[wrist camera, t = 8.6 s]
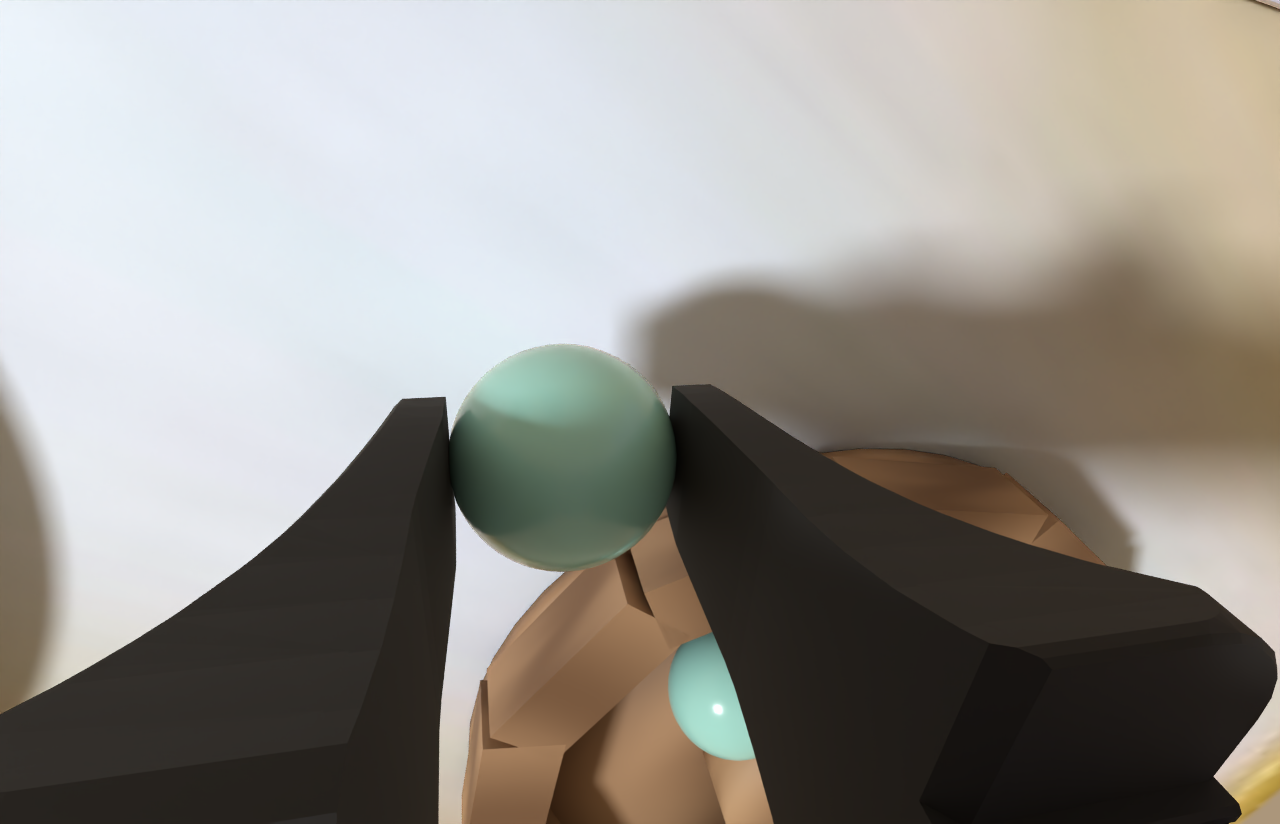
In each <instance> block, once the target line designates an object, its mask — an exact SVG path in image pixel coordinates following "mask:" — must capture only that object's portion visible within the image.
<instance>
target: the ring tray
mask: <svg viewBox="0 0 1280 824" xmlns="http://www.w3.org/2000/svg"><path fill="white" fill-rule="evenodd" d="M820 454H822V455H824V456H826V457H827V458H829V459H831V460H833V461H834V462H836V463H838V464H840V465H842V466H843V467H845V468H847V469H849V470H850V471H852V472H854V473H856V474H858V475H860V476H862V477H864V478H866V479H868V480H869V481H871V482H873V483H875V484H877V485H880V486H882V487H884V488H886V489H888V490H890V491H892V492H895V493H897V494H899V495H901V496H903V497H905V498H908V499H910V500H912V501H914V502H916V503H918V504H921V505H923V506H926V507H928V508H930V509H933V510H935V511H938V512H940V513H943V514H945V515H948V516H950V517H953V518H956V519H958V520H961V521H964V522H966V523H969V524H972V525H974V526H977V527H980V528H982V529H985V530H988V531H991V532H993V533H996V534H999V535H1002V536H1005V537H1008V538H1012V539H1015V540H1018V541H1021V542H1024V543H1027V544H1030V545H1033V546H1037V547H1040V548H1044V549H1047V550H1050V551H1054V552H1057V553H1061V554H1064V555H1068V556H1071V557H1074V558H1078V559H1081V560H1085V561H1089V562H1093V563H1096V564H1101V565H1105V564H1104V563H1103V562H1102V561H1101V560H1100V559H1099V558H1098V557H1097V556H1096V555H1095V554H1094V553H1093V552H1092V551H1091V550H1090V549H1089V548H1088V547H1087V546H1086V545H1085V544H1084V543H1083V542H1082V541H1081V540H1080V539H1079V538H1078V537H1077V536H1076V535H1075V534H1074V533H1073V532H1072V531H1071V530H1070V529H1069V528H1068V527H1067V526H1066V525H1065V524H1064V523H1063V522H1062V521H1061V520H1060V519H1058V518H1057V517H1056V516H1055V515H1054V514H1053V513H1052V512H1051V511H1049V510H1048V509H1047V508H1046V507H1045V506H1044V505H1043V504H1041V503H1040V502H1039V501H1038V500H1037V499H1036V498H1035V497H1034V496H1032V495H1031V494H1030V493H1029V492H1028V491H1027V490H1026V489H1025V488H1023V487H1022V486H1021V485H1020V484H1019V483H1018V482H1017V481H1015V480H1014V479H1013V478H1012V477H1011V476H1010V475H1009V474H1008V473H1005V474H1004V475H1003V474H1002V473H1001V472H999V471H998V470H997V469H996V468H991V467H981V466H978V465H975V464H972V463H969V462H965V461H962V460H959V459H956V458H952V457H949V456H946V455H940V454H933V453H926V452H919V451H913V450H906V449H854V450H845V451H836V452H827V453H820ZM1105 566H1106V565H1105ZM711 632H712V630H711V628H710V625H709V623H708V621H707V618H706V616H705V614H704V611H703V609H702V606H701V604H700V602H699V599H698V597H697V595H696V592H695V590H694V588H693V585H692V583H691V580H690V578H689V576H688V573H687V571H686V568H685V566H684V563H683V561H682V559H681V556H680V554H679V551H678V549H677V546H676V543H675V540H674V536H673V532H672V529H671V525H670V521H669V517H668V513H667V509H666V506H665V508H664V510H663V512H662V514H661V516H660V517H659V519H658V520H657V521H656V523H655V524H654V526H653V527H652V528H651V530H650V531H649V532H648V533H647V534H646V535H645V536H644V538H643V539H642V540H640V541H639V542H638V543H637V544H636V545H635V546H633V547H632V548H631V549H629V550H628V551H626V552H625V553H623V554H622V555H620V556H618V557H617V558H615V559H613V560H611V561H609V562H607V563H604V564H602V565H599V566H596V567H593V568H588V569H584V570H578V571H568V572H564V573H563V574H562V575H561V576H560V577H559V578H558V579H557V580H556V581H555V582H553V583H552V584H551V585H550V586H549V587H548V588H547V589H546V590H545V591H544V592H543V593H542V594H541V595H540V596H539V597H538V599H537V600H536V601H535V602H534V603H533V604H532V606H531V607H530V608H529V609H528V610H527V611H526V612H525V614H524V615H523V616H522V617H521V618H520V619H519V621H518V622H517V623H516V624H515V625H514V627H513V629H512V630H511V632H510V633H509V635H508V636H507V638H506V639H505V641H504V642H503V644H502V645H501V647H500V648H499V650H498V652H497V653H496V655H495V656H494V658H493V660H492V662H491V664H490V666H489V667H488V668H487V673H486V675H485V677H484V680H480V686H479V691H478V694H477V698H476V702H475V706H474V710H473V714H472V717H471V721H470V735H469V754H468V760H467V767H466V773H465V779H464V785H463V791H462V824H774V823H773V819H772V815H771V812H770V808H769V805H768V801H767V797H766V794H765V790H764V787H763V783H762V780H761V776H760V772H759V769H758V765H757V762H756V758H755V759H751V760H744V761H733V760H726V759H721V758H718V757H715V756H713V755H711V754H708V753H707V752H705V751H703V750H702V749H700V748H699V747H697V746H696V745H695V744H694V743H693V742H692V741H691V740H690V739H689V738H688V737H687V736H686V735H685V734H684V732H683V731H682V729H681V728H680V726H679V725H678V723H677V721H676V719H675V717H674V715H673V712H672V709H671V705H670V702H669V694H668V676H669V671H670V666H671V663H672V660H673V658H674V655H675V653H676V651H677V649H678V648H679V646H680V645H681V644H684V643H686V642H689V641H691V640H694V639H696V638H699V637H701V636H704V635H706V634H709V633H711Z"/></svg>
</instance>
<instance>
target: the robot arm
mask: <svg viewBox="0 0 1280 824" xmlns="http://www.w3.org/2000/svg"><path fill="white" fill-rule="evenodd" d="M1256 1H1259V2H1262V3H1265V4H1267V5H1270V6H1273V7H1276V8H1279V9H1280V0H1256ZM669 418H670V420H671V423H672V427H673V431H674V435H675V443H676V453H677V461H676V473H675V479H674V483H673V488H672V491H671V493H670V496H669V499H668V501H667V504H666V509H667V513H668V517H669V521H670V525H671V529H672V532H673V536H674V540H675V543H676V546H677V549H678V551H679V554H680V556H681V559H682V561H683V563H684V566H685V568H686V571H687V573H688V576H689V578H690V580H691V583H692V585H693V588H694V590H695V592H696V595H697V597H698V599H699V602H700V604H701V606H702V609H703V611H704V614H705V616H706V618H707V621H708V623H709V625H710V628H711V630H712V632H713V635H714V637H715V639H716V642H717V644H718V647H719V649H720V651H721V654H722V656H723V658H724V661H725V663H726V666H727V669H728V672H729V674H730V677H731V680H732V682H733V685H734V688H735V691H736V694H737V698H738V701H739V704H740V708H741V711H742V714H743V717H744V721H745V724H746V727H747V731H748V734H749V737H750V741H751V744H752V747H753V751H754V754H755V758H756V762H757V765H758V769H759V772H760V776H761V780H762V783H763V787H764V790H765V794H766V797H767V801H768V805H769V808H770V812H771V815H772V819H773V823H774V824H1229V823H1231V822H1235V821H1236V820H1237V819H1238V818H1239V817H1240V816H1241V814H1242V813H1241V809H1240V806H1239V803H1238V802H1237V801H1236V800H1235V799H1234V798H1233V797H1232V796H1231V795H1230V794H1229V793H1228V792H1227V791H1226V790H1225V788H1224V787H1223V786H1222V785H1221V784H1220V783H1219V782H1218V781H1217V780H1216V779H1215V778H1214V777H1213V776H1214V775H1215V774H1216V772H1217V771H1218V770H1219V769H1220V767H1221V766H1222V765H1223V763H1224V762H1225V761H1226V760H1227V758H1228V757H1229V756H1230V754H1231V753H1232V752H1233V751H1234V749H1235V748H1236V747H1237V745H1238V744H1239V743H1240V742H1241V740H1242V739H1243V738H1244V737H1245V735H1246V734H1247V733H1248V731H1249V730H1250V729H1251V728H1252V726H1253V725H1254V724H1255V722H1256V721H1257V720H1258V718H1259V717H1260V715H1261V714H1262V712H1263V710H1264V709H1265V707H1266V706H1267V704H1268V703H1269V701H1270V699H1271V698H1272V694H1273V691H1274V688H1275V685H1276V681H1277V664H1276V658H1275V652H1274V651H1273V649H1272V648H1271V647H1270V646H1269V645H1268V644H1267V643H1266V642H1265V641H1264V640H1263V639H1262V638H1261V637H1259V636H1258V635H1257V634H1256V633H1254V632H1253V631H1252V630H1251V629H1250V628H1248V627H1247V626H1246V625H1245V624H1244V623H1242V622H1241V621H1240V620H1239V619H1238V618H1236V617H1235V616H1234V615H1233V614H1232V613H1230V612H1229V611H1228V610H1227V609H1226V608H1224V607H1223V606H1222V605H1221V604H1219V603H1218V602H1217V601H1216V600H1215V599H1213V598H1212V597H1211V596H1210V595H1209V594H1207V593H1206V592H1205V591H1203V590H1202V589H1200V588H1198V587H1196V586H1192V585H1187V584H1183V583H1179V582H1174V581H1170V580H1166V579H1161V578H1157V577H1153V576H1148V575H1144V574H1140V573H1135V572H1131V571H1127V570H1122V569H1118V568H1114V567H1109V566H1105V565H1101V564H1096V563H1093V562H1089V561H1085V560H1081V559H1078V558H1074V557H1071V556H1068V555H1064V554H1061V553H1057V552H1054V551H1050V550H1047V549H1044V548H1040V547H1037V546H1033V545H1030V544H1027V543H1024V542H1021V541H1018V540H1015V539H1012V538H1008V537H1005V536H1002V535H999V534H996V533H993V532H991V531H988V530H985V529H982V528H980V527H977V526H974V525H972V524H969V523H966V522H964V521H961V520H958V519H956V518H953V517H950V516H948V515H945V514H943V513H940V512H938V511H935V510H933V509H930V508H928V507H926V506H923V505H921V504H918V503H916V502H914V501H912V500H910V499H908V498H905V497H903V496H901V495H899V494H897V493H895V492H892V491H890V490H888V489H886V488H884V487H882V486H880V485H877V484H875V483H873V482H871V481H869V480H868V479H866V478H864V477H862V476H860V475H858V474H856V473H854V472H852V471H850V470H849V469H847V468H845V467H843V466H842V465H840V464H838V463H836V462H834V461H833V460H831V459H829V458H827V457H826V456H824V455H822V454H820V453H819V452H817V451H815V450H814V449H812V448H810V447H809V446H807V445H805V444H804V443H802V442H800V441H799V440H797V439H796V438H794V437H792V436H791V435H789V434H788V433H786V432H785V431H783V430H782V429H780V428H778V427H777V426H775V425H774V424H772V423H771V422H769V421H768V420H766V419H765V418H763V417H762V416H760V415H759V414H757V413H756V412H754V411H753V410H751V409H750V408H748V407H746V406H745V405H743V404H742V403H740V402H739V401H737V400H736V399H734V398H733V397H731V396H730V395H728V394H726V393H725V392H723V391H721V390H720V389H718V388H716V387H714V386H712V385H710V384H706V385H685V386H672V395H671V406H670V416H669ZM455 571H456V513H455V498H454V493H453V489H452V486H451V479H450V466H449V430H448V418H447V407H446V397H432V398H411V399H402V400H401V401H400V402H399V403H398V404H397V405H396V406H395V407H394V408H393V409H392V411H391V412H390V414H389V415H388V416H387V418H386V419H385V421H384V422H383V423H382V425H381V426H380V427H379V429H378V430H377V431H376V433H375V434H374V435H373V437H372V438H371V439H370V440H369V442H368V443H367V444H366V446H365V447H364V448H363V449H362V450H361V452H360V453H359V454H358V455H357V456H356V458H355V459H354V460H353V461H352V462H351V463H350V465H349V466H348V467H347V468H346V469H345V471H344V472H343V473H342V474H341V475H340V476H339V478H338V479H337V480H336V481H335V482H334V483H333V484H332V485H331V486H330V487H329V488H328V489H327V490H326V491H325V492H324V493H323V494H322V496H321V497H320V498H319V499H318V500H317V501H316V502H315V503H314V504H313V505H312V506H311V507H310V508H309V509H308V510H307V511H306V512H305V513H304V514H303V515H302V516H301V517H300V518H299V519H298V520H297V521H296V522H295V523H294V524H293V525H292V526H291V527H289V528H288V529H287V530H286V531H285V532H284V533H283V534H282V535H281V536H280V537H278V538H277V539H276V540H275V541H274V542H272V543H271V544H270V545H269V546H268V547H266V548H265V549H264V550H263V551H262V552H260V553H259V554H258V555H257V556H256V557H254V558H253V559H252V560H251V561H249V562H248V563H247V564H245V565H244V566H243V567H242V568H240V569H239V570H237V571H236V572H235V573H233V574H232V575H230V576H229V577H228V578H226V579H225V580H223V581H222V582H221V583H219V584H218V585H216V586H215V587H214V588H212V589H211V590H209V591H208V592H207V593H205V594H204V595H202V596H201V597H200V598H198V599H197V600H195V601H194V602H193V603H191V604H190V605H188V606H187V607H186V608H184V609H183V610H181V611H180V612H178V613H177V614H175V615H174V616H172V617H171V618H169V619H168V620H166V621H165V622H163V623H161V624H160V625H158V626H157V627H155V628H153V629H152V630H150V631H149V632H147V633H145V634H144V635H142V636H141V637H139V638H137V639H136V640H134V641H133V642H131V643H129V644H128V645H126V646H124V647H123V648H121V649H119V650H117V651H116V652H114V653H112V654H111V655H109V656H107V657H106V658H104V659H102V660H100V661H99V662H97V663H95V664H94V665H92V666H90V667H89V668H87V669H85V670H83V671H81V672H80V673H78V674H76V675H74V676H72V677H71V678H69V679H67V680H65V681H63V682H62V683H60V684H58V685H56V686H54V687H52V688H50V689H49V690H47V691H45V692H43V693H41V694H39V695H37V696H35V697H33V698H31V699H29V700H27V701H25V702H23V703H21V704H19V705H18V706H16V707H14V708H12V709H10V710H8V711H6V712H4V713H2V714H0V824H438V802H439V727H440V712H441V698H442V689H443V680H444V671H445V662H446V653H447V644H448V635H449V627H450V618H451V609H452V599H453V590H454V581H455Z"/></svg>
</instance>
